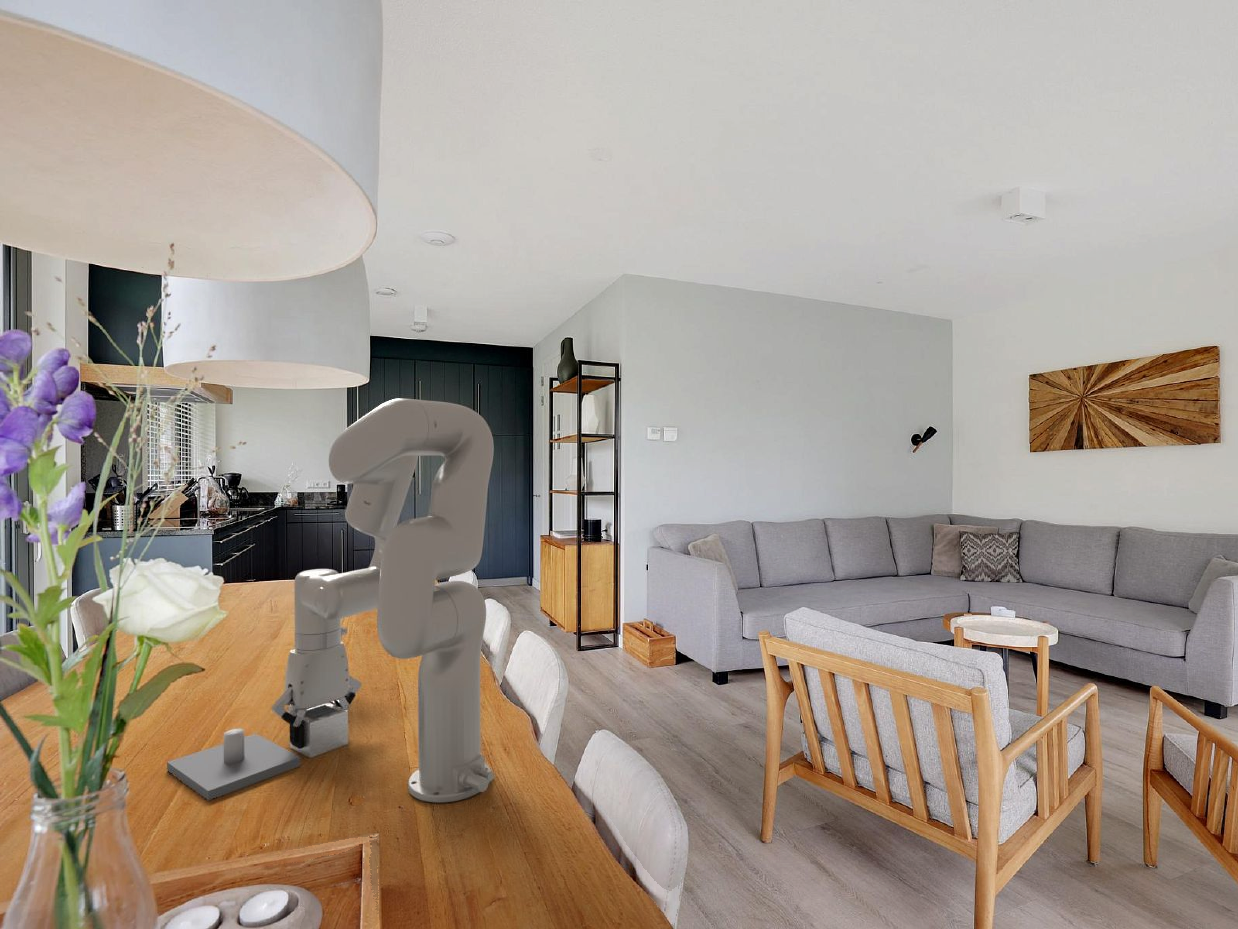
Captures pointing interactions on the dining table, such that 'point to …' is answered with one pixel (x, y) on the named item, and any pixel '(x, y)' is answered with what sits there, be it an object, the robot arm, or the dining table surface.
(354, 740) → the dining table surface
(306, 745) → the grey hollow block
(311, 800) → the dining table surface
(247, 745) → the plate
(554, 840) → the dining table surface
